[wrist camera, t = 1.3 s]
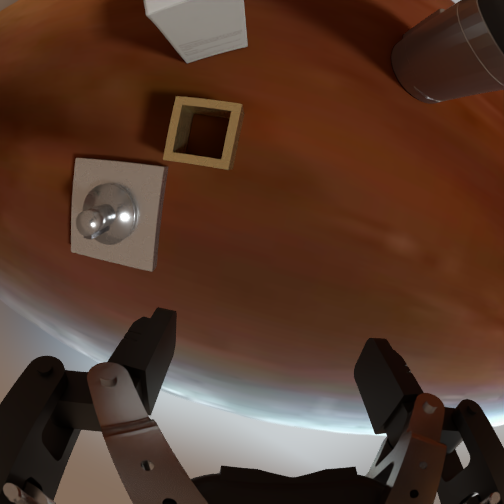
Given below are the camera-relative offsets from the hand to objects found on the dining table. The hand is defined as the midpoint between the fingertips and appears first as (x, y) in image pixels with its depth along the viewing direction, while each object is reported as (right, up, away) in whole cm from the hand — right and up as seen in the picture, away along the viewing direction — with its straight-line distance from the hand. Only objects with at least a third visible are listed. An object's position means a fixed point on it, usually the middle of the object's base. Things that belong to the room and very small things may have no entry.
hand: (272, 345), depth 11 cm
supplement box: (-6, +29, +13) cm, 32 cm away
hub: (-5, +16, +17) cm, 24 cm away
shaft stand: (-17, +9, +19) cm, 27 cm away
